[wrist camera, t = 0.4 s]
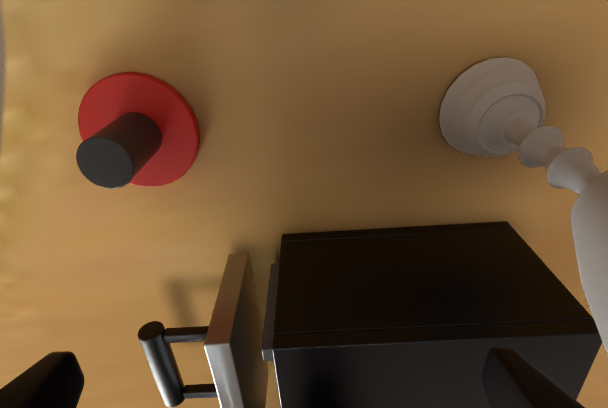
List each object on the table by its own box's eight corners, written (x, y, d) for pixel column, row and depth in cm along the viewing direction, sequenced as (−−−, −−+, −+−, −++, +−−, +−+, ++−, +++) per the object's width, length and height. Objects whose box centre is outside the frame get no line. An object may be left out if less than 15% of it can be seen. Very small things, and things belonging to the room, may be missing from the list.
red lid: (209, 179, 22) (189, 220, 18) (104, 185, 22) (62, 227, 18) (186, 67, 19) (156, 87, 15) (66, 76, 19) (5, 98, 15)
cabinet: (296, 365, 29) (294, 495, 22) (281, 233, 23) (271, 349, 16) (476, 357, 29) (537, 486, 21) (507, 221, 23) (607, 333, 15)
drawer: (186, 375, 28) (156, 477, 22) (148, 258, 23) (94, 350, 17) (422, 364, 28) (455, 466, 22) (438, 242, 23) (487, 331, 17)
